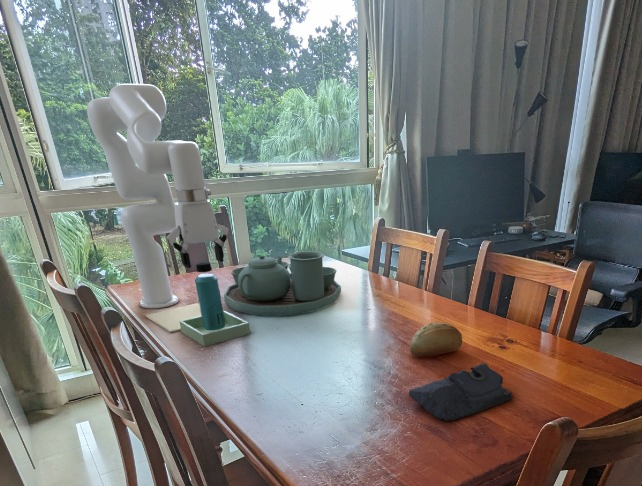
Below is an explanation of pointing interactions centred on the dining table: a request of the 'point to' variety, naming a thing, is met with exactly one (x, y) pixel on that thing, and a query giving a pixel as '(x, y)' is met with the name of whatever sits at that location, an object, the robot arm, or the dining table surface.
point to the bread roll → (435, 340)
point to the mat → (175, 316)
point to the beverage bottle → (209, 298)
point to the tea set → (283, 285)
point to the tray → (208, 337)
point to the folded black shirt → (462, 393)
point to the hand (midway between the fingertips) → (204, 264)
